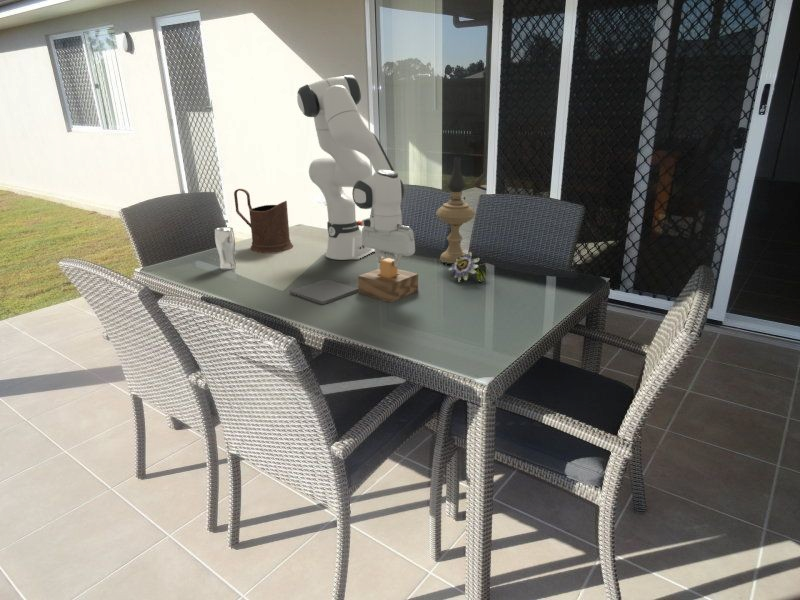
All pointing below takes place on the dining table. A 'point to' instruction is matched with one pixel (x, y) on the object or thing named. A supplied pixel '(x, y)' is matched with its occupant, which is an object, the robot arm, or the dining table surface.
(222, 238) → the beer glass
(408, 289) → the socket block
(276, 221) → the rusty metal jug
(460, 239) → the oil lamp
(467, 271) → the passion flower
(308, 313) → the dining table surface
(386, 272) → the pin
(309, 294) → the mat
